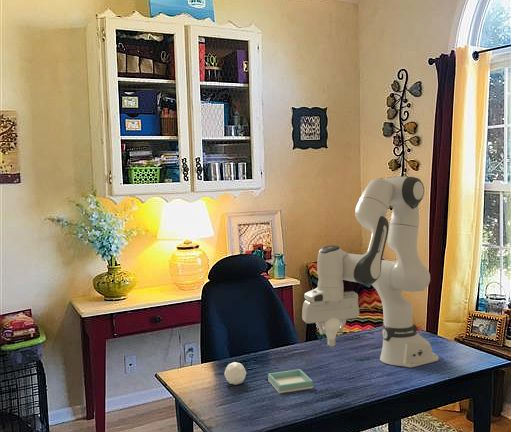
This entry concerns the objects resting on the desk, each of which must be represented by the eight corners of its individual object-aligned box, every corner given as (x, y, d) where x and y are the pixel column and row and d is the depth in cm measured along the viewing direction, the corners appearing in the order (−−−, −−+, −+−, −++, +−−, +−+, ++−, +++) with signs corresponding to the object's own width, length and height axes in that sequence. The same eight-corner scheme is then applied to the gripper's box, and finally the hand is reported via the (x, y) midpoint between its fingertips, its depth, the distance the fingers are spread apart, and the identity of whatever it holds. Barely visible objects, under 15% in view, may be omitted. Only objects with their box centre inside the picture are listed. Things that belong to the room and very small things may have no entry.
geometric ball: (229, 391, 208) (217, 372, 210) (247, 378, 212) (234, 360, 213) (235, 387, 201) (222, 368, 203) (253, 374, 205) (240, 355, 207)
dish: (300, 375, 213) (300, 369, 213) (313, 388, 201) (312, 380, 201) (268, 380, 209) (268, 373, 209) (279, 393, 197) (279, 385, 197)
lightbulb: (331, 350, 195) (330, 318, 194) (318, 346, 200) (317, 315, 199) (344, 346, 199) (344, 315, 198) (331, 342, 204) (331, 311, 203)
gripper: (353, 288, 204) (354, 327, 205) (299, 294, 198) (300, 333, 199) (362, 292, 198) (362, 331, 199) (306, 298, 192) (307, 338, 193)
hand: (331, 332), depth 199 cm, fingers closed on lightbulb, 5 cm apart
